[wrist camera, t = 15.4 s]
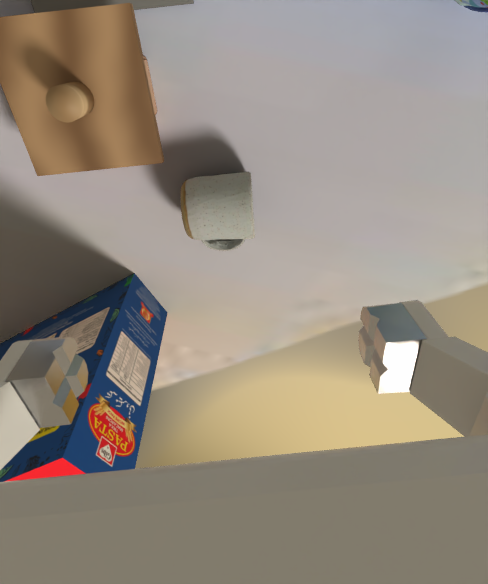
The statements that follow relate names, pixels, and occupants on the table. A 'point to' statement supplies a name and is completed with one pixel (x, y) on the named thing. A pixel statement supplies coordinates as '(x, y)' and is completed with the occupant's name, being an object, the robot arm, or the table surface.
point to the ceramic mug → (218, 209)
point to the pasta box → (98, 384)
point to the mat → (100, 4)
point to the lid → (79, 89)
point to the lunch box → (474, 5)
